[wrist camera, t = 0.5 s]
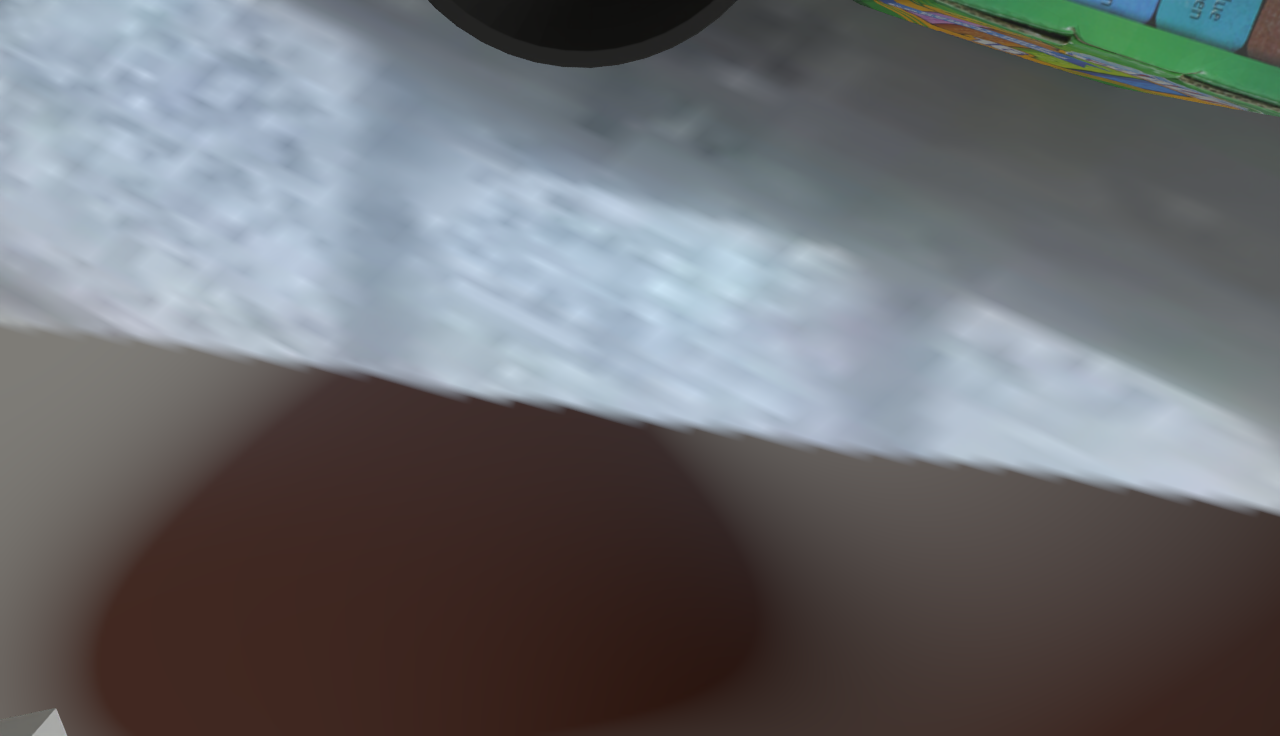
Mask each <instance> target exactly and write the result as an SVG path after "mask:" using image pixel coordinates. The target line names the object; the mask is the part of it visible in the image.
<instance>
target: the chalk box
mask: <svg viewBox="0 0 1280 736" xmlns="http://www.w3.org/2000/svg"><path fill="white" fill-rule="evenodd" d="M853 1H855V2H857V3H859V4H861V5H864V6H866V7H869V8H872V9H875V10H878V11H881V12H884V13H886V14H889V15H892V16H895V17H898V18H901V19H904V20H907V21H910V22H913V23H916V24H919V25H922V26H925V27H929V28H932V29H935V30H937V31H940V32H943V33H946V34H949V35H952V36H955V37H958V38H961V39H965V40H968V41H971V42H974V43H977V44H980V45H984V46H987V47H990V48H993V49H996V50H1000V51H1003V52H1006V53H1009V54H1012V55H1015V56H1018V57H1022V58H1025V59H1028V60H1031V61H1034V62H1037V63H1041V64H1044V65H1047V66H1051V67H1054V68H1057V69H1060V70H1063V71H1067V72H1070V73H1073V74H1076V75H1079V76H1082V77H1085V78H1088V79H1091V80H1095V81H1098V82H1101V83H1104V84H1107V85H1111V86H1115V87H1119V88H1123V89H1128V90H1134V91H1139V92H1145V93H1150V94H1156V95H1161V96H1166V97H1172V98H1179V99H1184V100H1189V101H1194V102H1200V103H1205V104H1211V105H1218V106H1223V107H1228V108H1232V109H1239V110H1245V111H1251V112H1256V113H1261V114H1267V115H1273V116H1278V117H1280V0H853Z"/></svg>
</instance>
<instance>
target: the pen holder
mask: <svg viewBox="0 0 1280 736" xmlns="http://www.w3.org/2000/svg"><path fill="white" fill-rule="evenodd" d="M428 1H429V2H430V3H431V4H432V5H433V6H434V7H435V8H436V9H437V10H438V11H439V12H441V13H442V14H443V15H444V16H446V17H447V18H448V19H449V20H450V21H452V22H453V23H454V24H455V25H456V26H458V27H459V28H461V29H462V30H464V31H465V32H467V33H469V34H470V35H472V36H473V37H475V38H477V39H478V40H480V41H481V42H483V43H485V44H488V45H490V46H492V47H494V48H496V49H498V50H501V51H503V52H505V53H507V54H510V55H513V56H517V57H520V58H523V59H526V60H530V61H533V62H537V63H543V64H549V65H555V66H561V67H584V68H593V67H602V66H612V65H620V64H624V63H628V62H632V61H636V60H640V59H644V58H647V57H650V56H652V55H655V54H658V53H660V52H663V51H665V50H668V49H670V48H673V47H674V46H676V45H678V44H680V43H682V42H683V41H685V40H687V39H689V38H691V37H692V36H694V35H696V34H698V33H699V32H700V31H702V30H703V29H704V28H706V27H707V26H708V25H710V24H711V23H712V22H714V21H715V20H716V19H718V18H719V17H720V16H721V15H722V14H724V13H725V12H726V11H727V10H728V9H729V8H730V7H731V6H732V5H733V4H734V3H735V2H736V1H737V0H428Z"/></svg>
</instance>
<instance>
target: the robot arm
mask: <svg viewBox="0 0 1280 736" xmlns="http://www.w3.org/2000/svg"><path fill="white" fill-rule="evenodd" d="M0 736H67V734H66V732H65V729H64V727H63V724H62V722H61V720H60V717H59V715H58V712H57V710H56V708H55V709H50V710H45V711H40V712H35V713H30V714H25V715H20V716H16V717H11V718H7V719H1V720H0Z"/></svg>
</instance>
